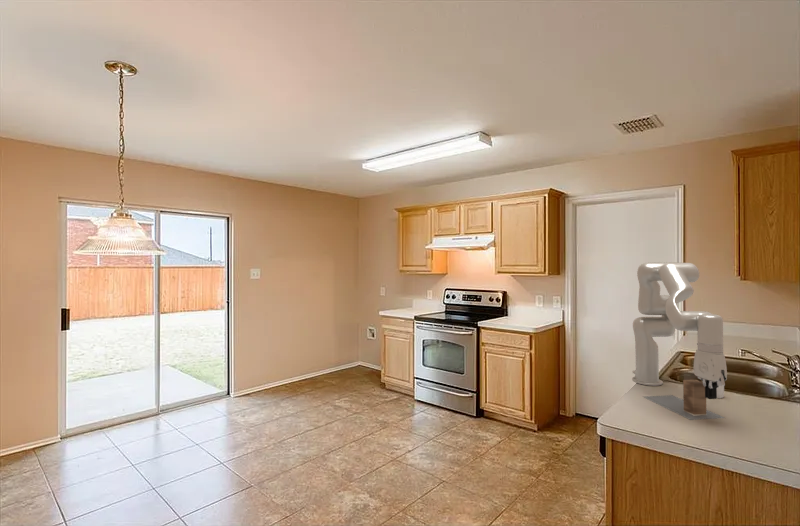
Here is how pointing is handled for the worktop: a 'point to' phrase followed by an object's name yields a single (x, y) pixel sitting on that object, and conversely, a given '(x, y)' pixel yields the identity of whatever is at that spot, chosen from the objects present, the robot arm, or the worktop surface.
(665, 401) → the mat
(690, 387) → the walnut block
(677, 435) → the worktop surface
